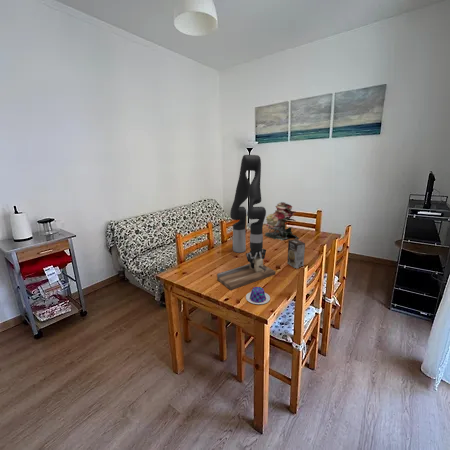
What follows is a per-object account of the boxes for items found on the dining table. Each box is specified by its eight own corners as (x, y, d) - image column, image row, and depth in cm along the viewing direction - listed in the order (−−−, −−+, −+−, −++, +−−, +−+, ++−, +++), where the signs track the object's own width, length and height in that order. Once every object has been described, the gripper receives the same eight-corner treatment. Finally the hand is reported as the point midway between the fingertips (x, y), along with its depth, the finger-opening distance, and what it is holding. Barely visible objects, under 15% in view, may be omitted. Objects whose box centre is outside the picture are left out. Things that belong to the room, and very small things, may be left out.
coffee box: (286, 263, 162) (287, 240, 158) (295, 261, 164) (296, 238, 160) (295, 268, 154) (296, 244, 149) (303, 267, 156) (305, 242, 152)
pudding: (254, 308, 116) (254, 298, 114) (241, 296, 126) (241, 286, 125) (275, 301, 121) (275, 291, 120) (260, 290, 131) (260, 281, 130)
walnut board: (217, 279, 143) (217, 273, 142) (260, 265, 159) (260, 260, 158) (230, 290, 131) (230, 283, 130) (275, 274, 148) (275, 268, 147)
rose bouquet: (282, 229, 235) (284, 198, 227) (302, 238, 208) (304, 203, 200) (258, 233, 226) (259, 200, 218) (276, 243, 200) (277, 206, 192)
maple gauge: (249, 267, 152) (249, 257, 150) (255, 265, 154) (255, 255, 152) (262, 275, 142) (262, 264, 140) (268, 273, 144) (268, 262, 142)
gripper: (261, 236, 152) (261, 262, 156) (242, 241, 145) (242, 267, 149) (269, 239, 146) (269, 266, 150) (250, 244, 138) (250, 272, 143)
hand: (256, 266), depth 150 cm, fingers closed on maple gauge, 4 cm apart
